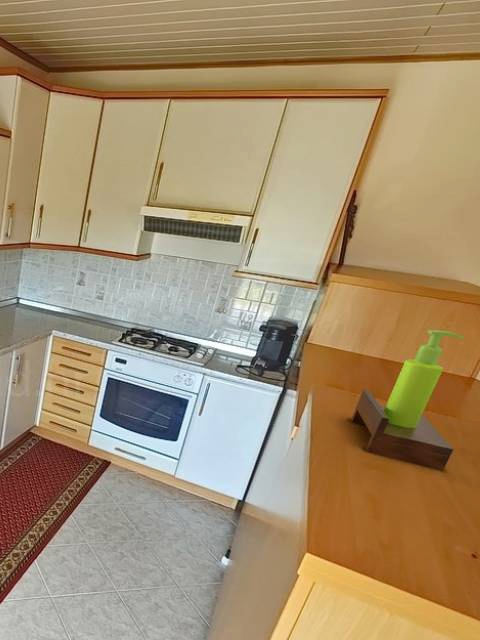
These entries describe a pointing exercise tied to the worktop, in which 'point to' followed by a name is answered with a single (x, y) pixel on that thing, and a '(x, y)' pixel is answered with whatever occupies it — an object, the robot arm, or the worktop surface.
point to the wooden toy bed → (401, 436)
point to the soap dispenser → (416, 383)
